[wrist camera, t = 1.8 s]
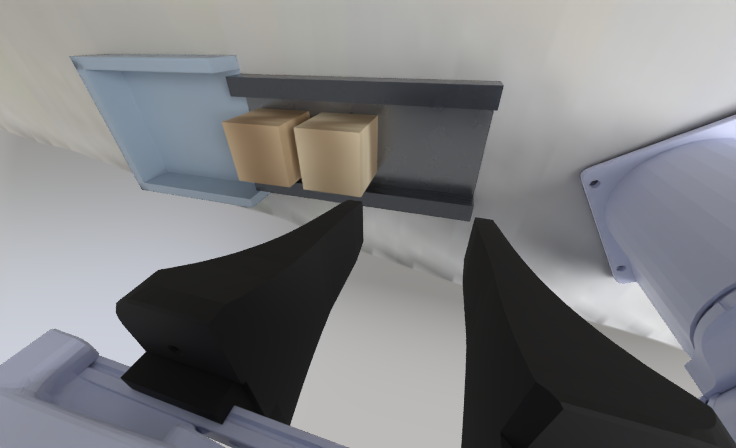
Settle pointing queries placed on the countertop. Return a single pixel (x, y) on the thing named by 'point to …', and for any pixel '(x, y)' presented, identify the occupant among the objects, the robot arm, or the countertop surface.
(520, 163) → the countertop surface
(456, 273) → the countertop surface
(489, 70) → the countertop surface
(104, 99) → the tray
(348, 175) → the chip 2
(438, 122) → the slot rail
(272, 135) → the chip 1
